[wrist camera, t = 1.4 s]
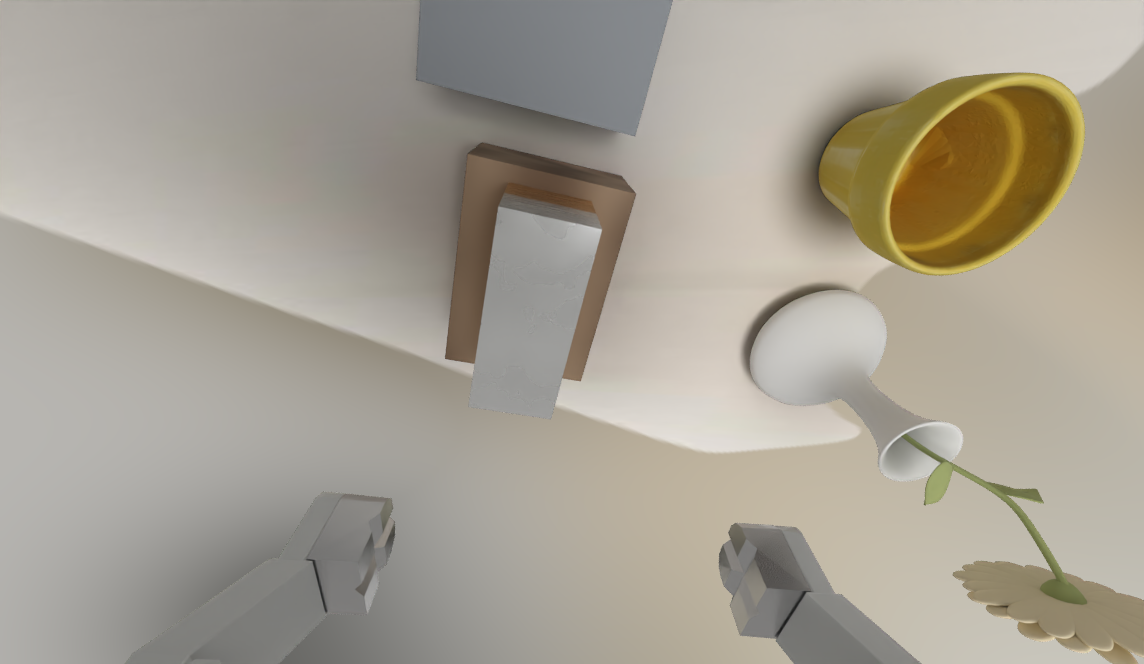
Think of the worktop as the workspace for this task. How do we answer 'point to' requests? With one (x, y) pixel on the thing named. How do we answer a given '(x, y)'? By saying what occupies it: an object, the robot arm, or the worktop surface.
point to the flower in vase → (933, 469)
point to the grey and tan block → (532, 299)
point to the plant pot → (956, 169)
